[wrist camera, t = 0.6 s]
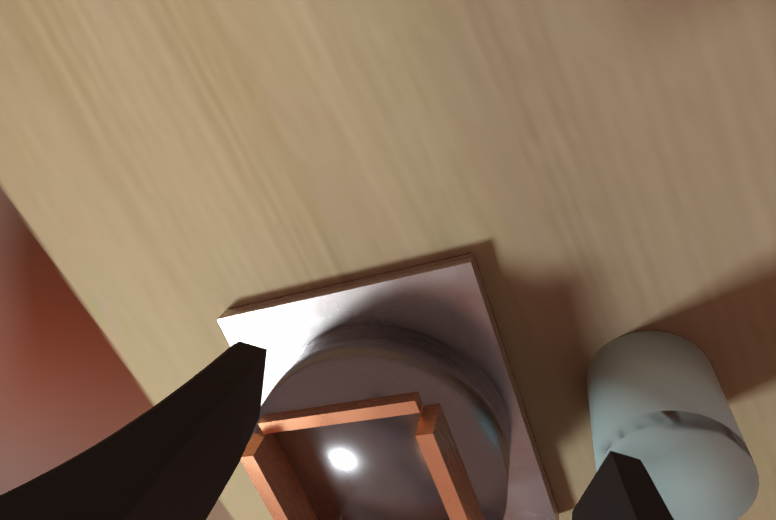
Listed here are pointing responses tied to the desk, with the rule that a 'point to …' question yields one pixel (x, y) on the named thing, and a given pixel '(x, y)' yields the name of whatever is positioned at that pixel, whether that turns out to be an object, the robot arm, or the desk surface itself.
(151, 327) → the desk surface
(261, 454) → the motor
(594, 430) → the cylinder
